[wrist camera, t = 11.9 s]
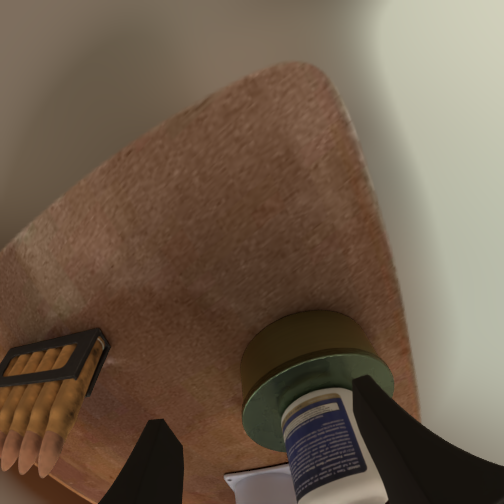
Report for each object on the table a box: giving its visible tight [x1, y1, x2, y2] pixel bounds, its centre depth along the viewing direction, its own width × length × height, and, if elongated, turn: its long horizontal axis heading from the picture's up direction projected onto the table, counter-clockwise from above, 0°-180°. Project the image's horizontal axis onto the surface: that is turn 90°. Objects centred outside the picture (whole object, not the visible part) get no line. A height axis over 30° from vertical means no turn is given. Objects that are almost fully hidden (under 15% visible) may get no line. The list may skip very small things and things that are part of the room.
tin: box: [240, 310, 394, 452], centre depth 21 cm, size 10×10×5 cm
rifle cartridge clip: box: [0, 328, 111, 478], centre depth 16 cm, size 11×2×12 cm, turn 106°
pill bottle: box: [281, 388, 388, 504], centre depth 15 cm, size 5×5×10 cm
